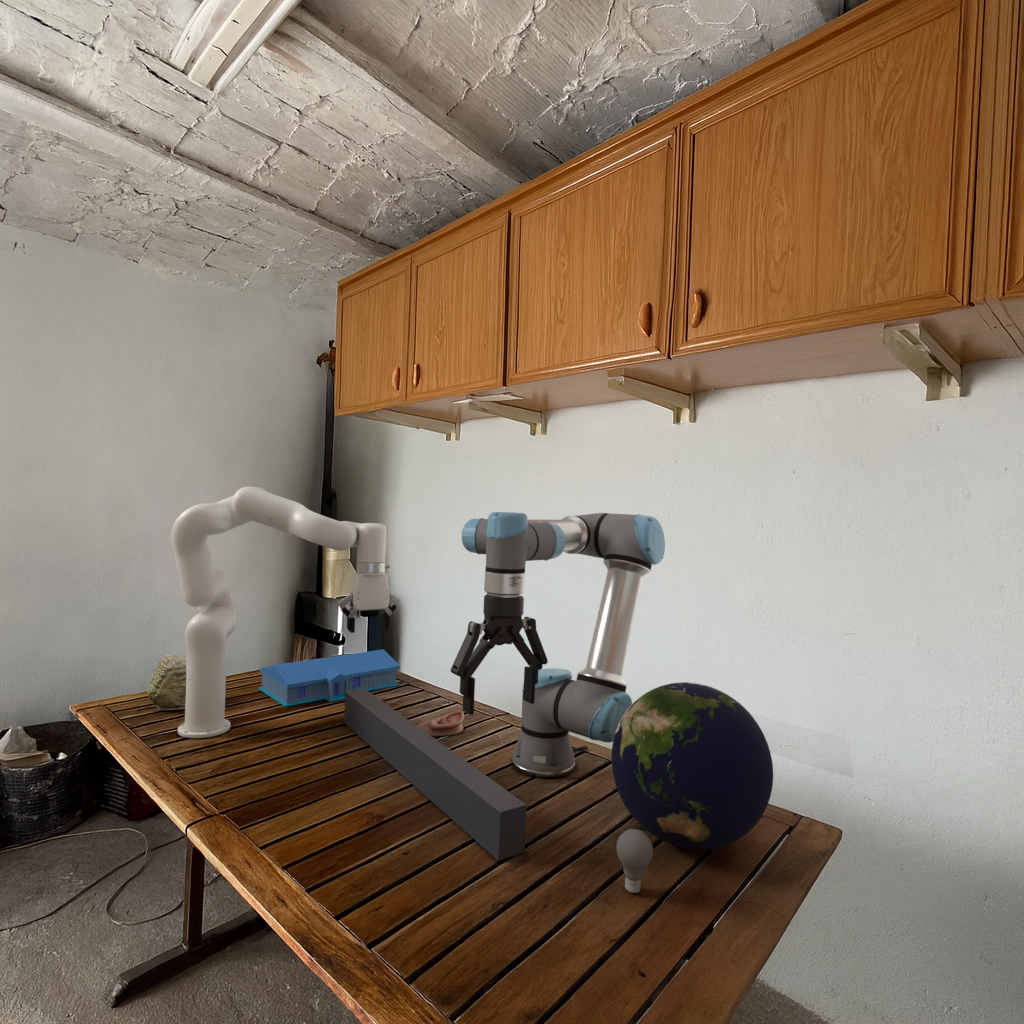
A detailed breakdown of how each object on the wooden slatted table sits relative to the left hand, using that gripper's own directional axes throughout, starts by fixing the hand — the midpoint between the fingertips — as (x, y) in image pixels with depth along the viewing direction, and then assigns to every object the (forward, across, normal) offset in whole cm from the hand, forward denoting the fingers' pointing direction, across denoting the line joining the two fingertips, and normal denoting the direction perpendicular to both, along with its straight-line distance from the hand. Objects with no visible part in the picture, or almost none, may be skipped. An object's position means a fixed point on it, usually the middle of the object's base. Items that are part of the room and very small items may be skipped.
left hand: (368, 630), depth 173 cm
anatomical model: (+27, -18, +10) cm, 34 cm away
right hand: (+2, 0, +66) cm, 66 cm away
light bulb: (+27, -12, +91) cm, 95 cm away
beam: (+27, 0, +33) cm, 42 cm away
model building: (+27, -4, -38) cm, 47 cm away
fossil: (+27, +40, -40) cm, 63 cm away
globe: (+27, -33, +84) cm, 94 cm away
